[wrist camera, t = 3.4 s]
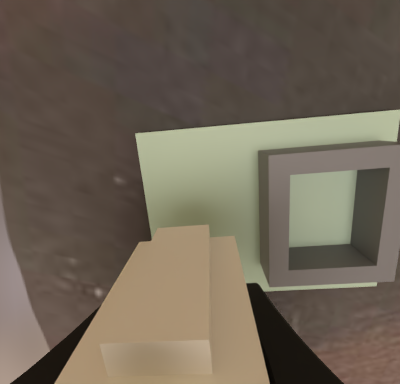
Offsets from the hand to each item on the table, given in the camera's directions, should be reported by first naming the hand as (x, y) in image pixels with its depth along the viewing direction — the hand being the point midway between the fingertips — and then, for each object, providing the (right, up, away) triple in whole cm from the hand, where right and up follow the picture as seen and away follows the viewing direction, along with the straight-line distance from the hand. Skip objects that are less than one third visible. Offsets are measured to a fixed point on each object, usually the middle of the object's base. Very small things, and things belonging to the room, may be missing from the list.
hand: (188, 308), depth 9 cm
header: (+5, +3, +9) cm, 11 cm away
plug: (0, +1, +1) cm, 2 cm away
